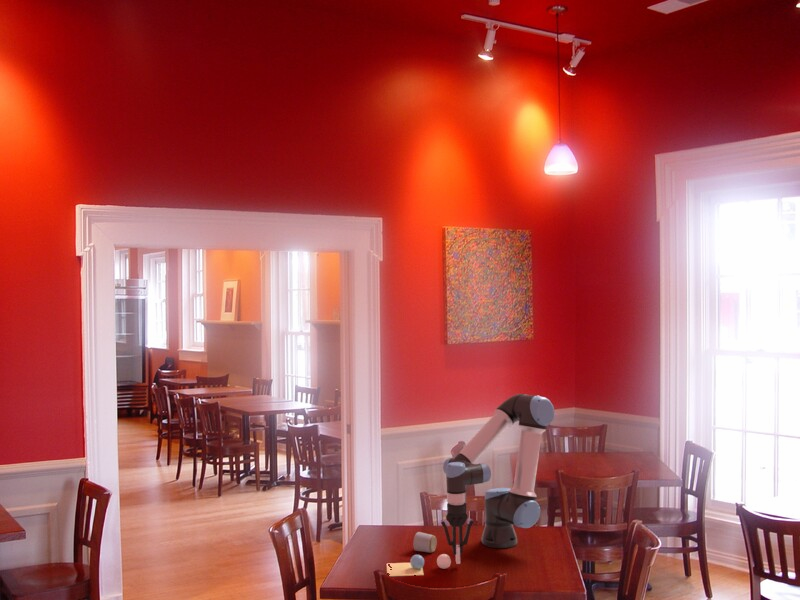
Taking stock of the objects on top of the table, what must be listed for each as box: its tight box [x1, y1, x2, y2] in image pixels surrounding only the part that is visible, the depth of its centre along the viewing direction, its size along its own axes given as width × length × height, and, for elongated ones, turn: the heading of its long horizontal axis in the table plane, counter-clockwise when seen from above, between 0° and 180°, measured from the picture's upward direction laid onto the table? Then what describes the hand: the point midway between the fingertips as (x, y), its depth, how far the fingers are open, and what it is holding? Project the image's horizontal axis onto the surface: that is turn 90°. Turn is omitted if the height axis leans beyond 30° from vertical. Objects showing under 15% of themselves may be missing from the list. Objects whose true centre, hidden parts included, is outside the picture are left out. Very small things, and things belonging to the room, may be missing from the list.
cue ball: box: [436, 553, 452, 570], centre depth 305 cm, size 6×6×6 cm
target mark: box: [386, 562, 425, 577], centre depth 305 cm, size 14×14×1 cm
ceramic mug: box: [412, 531, 438, 554], centre depth 327 cm, size 11×8×8 cm
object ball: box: [409, 554, 425, 569], centre depth 305 cm, size 6×6×6 cm
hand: (458, 562), depth 306 cm, fingers closed
